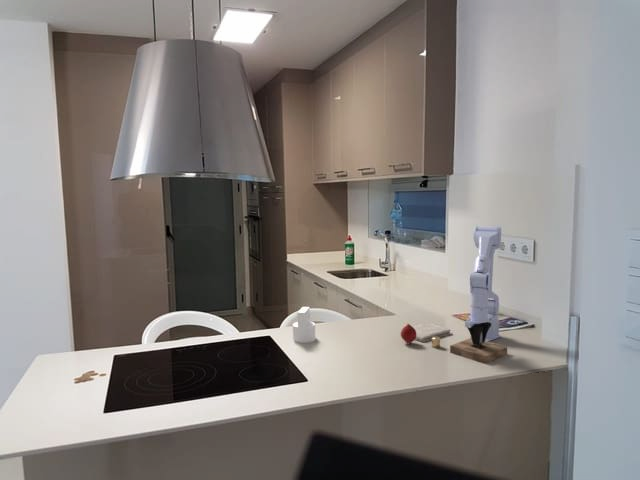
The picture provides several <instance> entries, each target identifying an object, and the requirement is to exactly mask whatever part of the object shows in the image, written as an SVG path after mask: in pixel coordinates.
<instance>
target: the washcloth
mask: <svg viewBox="0 0 640 480" xmlns="http://www.w3.org/2000/svg"><path fill="white" fill-rule="evenodd" d="M411 326H412V325H411ZM412 327H413V328H414V329H415V331H416V338H415V340H414V341H417V342H421V343H425V342H429V341H432V337H440V338H442V337H444V336H448V335H451V329H450V328H448V327H442V326H439V325H437V324H435V323H431V322H428V323H419V324H418V325H417V324H416V325H413V326H412Z"/></svg>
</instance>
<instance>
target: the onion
mask: <svg viewBox="0 0 640 480" xmlns="http://www.w3.org/2000/svg"><path fill="white" fill-rule="evenodd" d="M400 337H401V339H402V340H403V341H404V342H405V343H407V345H408V344H411V343H412V342H414V341H416V340H415V338H416V331H415V329H414V328H413V327H412V325H411V324H410V323H408V322H407V323H406V325H405V326H404V327H403V328H402V329H401V331H400Z"/></svg>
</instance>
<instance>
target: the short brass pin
mask: <svg viewBox="0 0 640 480" xmlns="http://www.w3.org/2000/svg"><path fill="white" fill-rule="evenodd" d="M431 347H432V348H433V349H440V348H441V337H432V340H431Z"/></svg>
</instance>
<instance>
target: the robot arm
mask: <svg viewBox="0 0 640 480" xmlns="http://www.w3.org/2000/svg"><path fill="white" fill-rule="evenodd" d="M473 241H474V244H475V247H476V248H477V249H478V256H476V257H475V258H474V262H473V268H472V273H470V275H469V286H470V287H469V288H470V290H469V291H470V294H471V295H470V296H471V297H470V315H468V317H467V318H468V319H467V320H465V321H464V327H465V328H467V330H468V332H469V334H470V336H469V338H472V342H473V344H475V345H479V342H480V335H481V332H482V330H483V338H482V343H484V342H485V341H487V342H491V341H493V340H494V341H495V340H496V339H499V338H500V337H502V336H501V335H500V319H499V317H498V315H499V312H500V299H499V295H497V294H496V293H495V292H494V291H493V276H494V275H493V274H494V273H493V271H494V254H495V252H496V250H498V249H500V248H501V245H502V227H500V226H477V225H475V227H474V228H473Z"/></svg>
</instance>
